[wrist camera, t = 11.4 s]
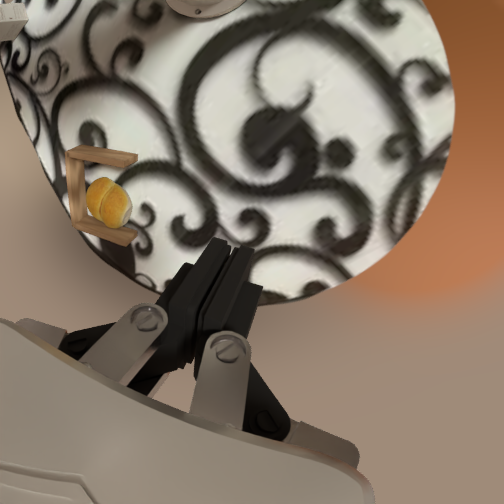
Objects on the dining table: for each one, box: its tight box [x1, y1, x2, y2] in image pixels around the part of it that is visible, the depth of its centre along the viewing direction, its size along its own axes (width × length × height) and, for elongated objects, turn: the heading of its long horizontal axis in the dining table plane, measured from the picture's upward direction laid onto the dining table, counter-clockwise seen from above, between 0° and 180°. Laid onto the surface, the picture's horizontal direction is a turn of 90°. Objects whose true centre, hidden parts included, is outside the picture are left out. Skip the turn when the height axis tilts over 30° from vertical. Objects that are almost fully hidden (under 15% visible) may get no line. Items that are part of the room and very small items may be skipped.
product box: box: [0, 3, 28, 41], centre depth 26 cm, size 6×6×7 cm
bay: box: [65, 145, 138, 247], centre depth 43 cm, size 14×12×4 cm
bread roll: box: [86, 177, 133, 229], centre depth 44 cm, size 8×9×4 cm
